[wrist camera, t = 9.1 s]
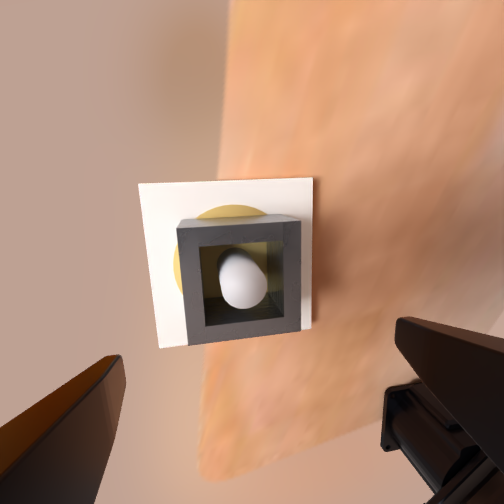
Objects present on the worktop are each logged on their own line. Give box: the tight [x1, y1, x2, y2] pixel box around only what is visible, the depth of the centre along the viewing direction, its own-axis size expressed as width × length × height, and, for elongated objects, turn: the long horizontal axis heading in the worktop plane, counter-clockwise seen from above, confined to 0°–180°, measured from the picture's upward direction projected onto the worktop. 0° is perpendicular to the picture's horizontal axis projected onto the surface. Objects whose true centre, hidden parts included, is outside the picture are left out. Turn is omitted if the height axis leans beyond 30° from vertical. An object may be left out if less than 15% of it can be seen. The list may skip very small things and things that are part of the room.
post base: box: [138, 177, 313, 348], centre depth 17 cm, size 11×11×6 cm
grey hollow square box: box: [176, 214, 301, 346], centre depth 17 cm, size 6×6×4 cm
